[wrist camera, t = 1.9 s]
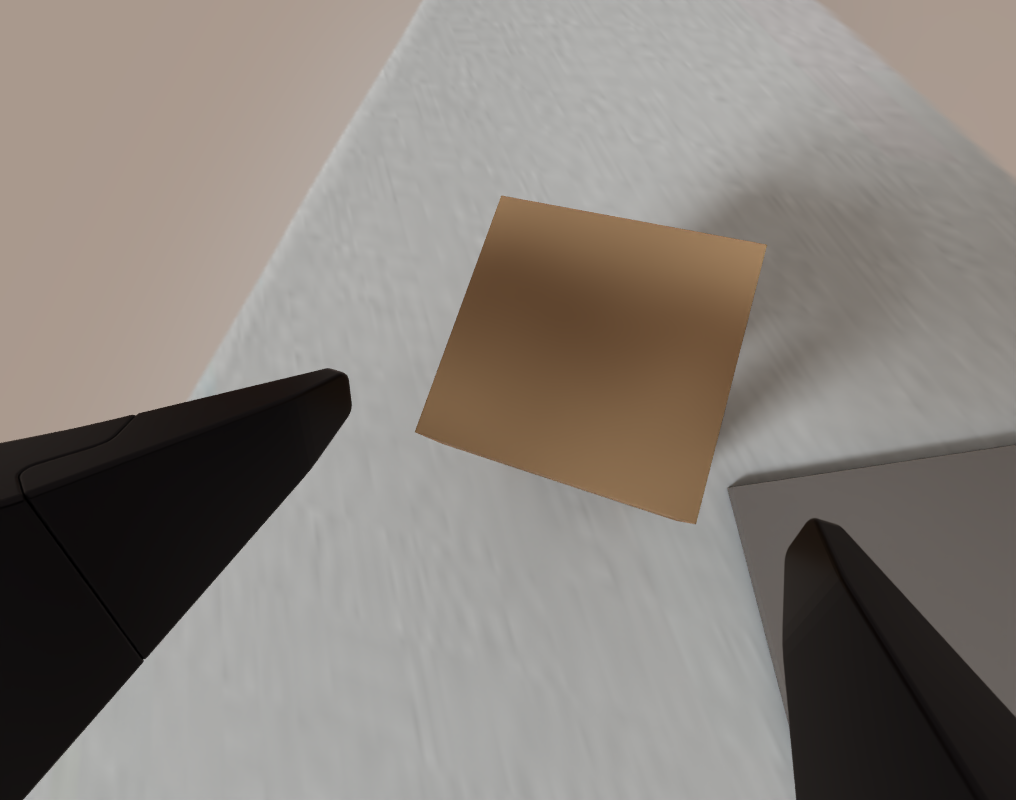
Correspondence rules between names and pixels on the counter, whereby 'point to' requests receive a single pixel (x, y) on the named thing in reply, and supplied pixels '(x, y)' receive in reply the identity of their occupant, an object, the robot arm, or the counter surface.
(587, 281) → the stool
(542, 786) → the counter surface
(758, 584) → the mat
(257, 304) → the counter surface
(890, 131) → the counter surface
